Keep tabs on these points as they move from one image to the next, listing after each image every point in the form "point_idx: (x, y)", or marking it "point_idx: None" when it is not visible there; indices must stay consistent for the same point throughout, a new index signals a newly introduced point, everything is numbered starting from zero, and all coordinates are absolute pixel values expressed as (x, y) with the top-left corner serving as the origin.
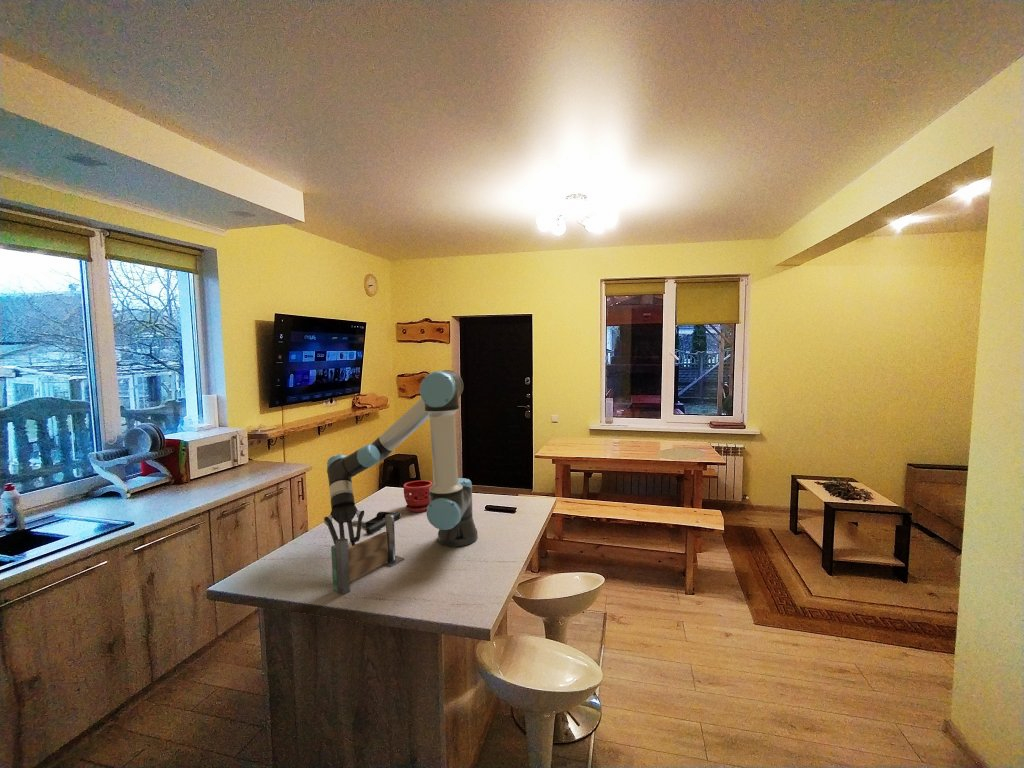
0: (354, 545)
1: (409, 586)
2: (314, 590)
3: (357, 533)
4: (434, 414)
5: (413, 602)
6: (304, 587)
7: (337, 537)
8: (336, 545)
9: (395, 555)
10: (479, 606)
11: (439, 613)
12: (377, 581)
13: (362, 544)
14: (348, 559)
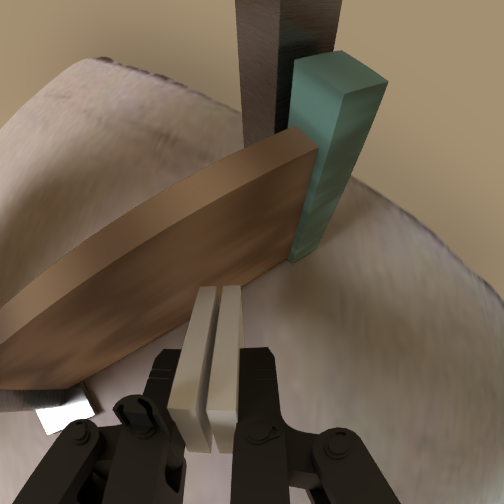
0: (150, 228)
1: (77, 173)
2: (385, 286)
3: (70, 467)
4: None
5: (110, 109)
6: (421, 328)
7: (334, 487)
8: (331, 14)
9: (37, 412)
10: (51, 90)
11: (100, 79)
12: None
13: (84, 250)
14: (241, 103)
